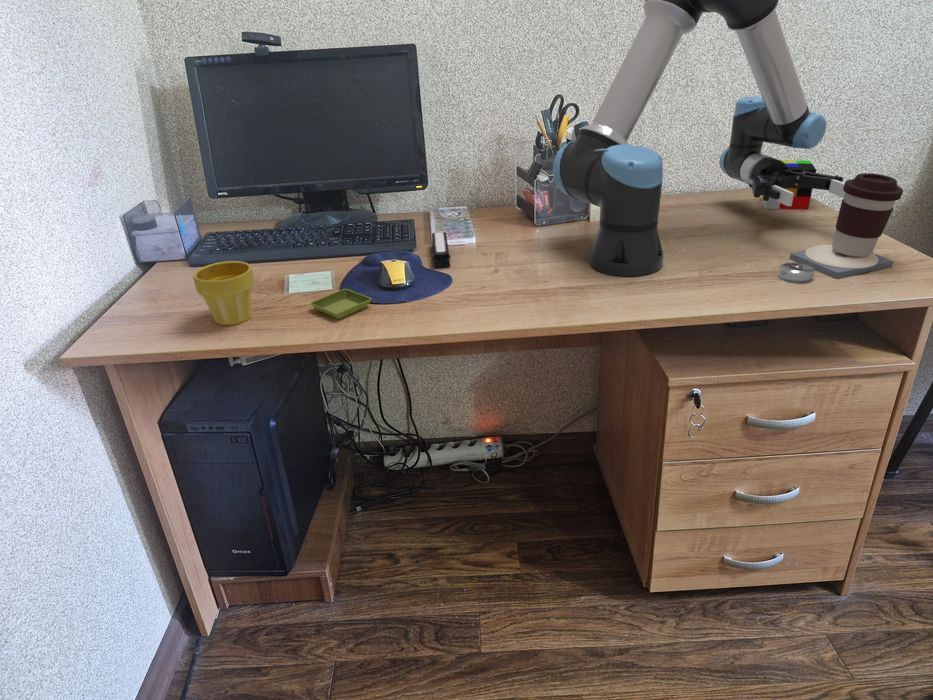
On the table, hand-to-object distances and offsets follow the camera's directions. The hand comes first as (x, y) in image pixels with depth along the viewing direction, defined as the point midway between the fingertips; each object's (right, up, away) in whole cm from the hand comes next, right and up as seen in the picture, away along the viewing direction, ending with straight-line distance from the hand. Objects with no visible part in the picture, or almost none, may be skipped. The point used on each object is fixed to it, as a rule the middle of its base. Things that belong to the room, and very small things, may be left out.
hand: (821, 196), depth 132 cm
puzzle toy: (+9, +6, +34) cm, 35 cm away
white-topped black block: (-79, -10, +15) cm, 81 cm away
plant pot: (-118, -26, -10) cm, 122 cm away
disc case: (+2, -14, -3) cm, 14 cm away
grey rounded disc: (-9, -18, -8) cm, 22 cm away
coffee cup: (+5, -12, -2) cm, 13 cm away
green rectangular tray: (-98, -24, -9) cm, 101 cm away
